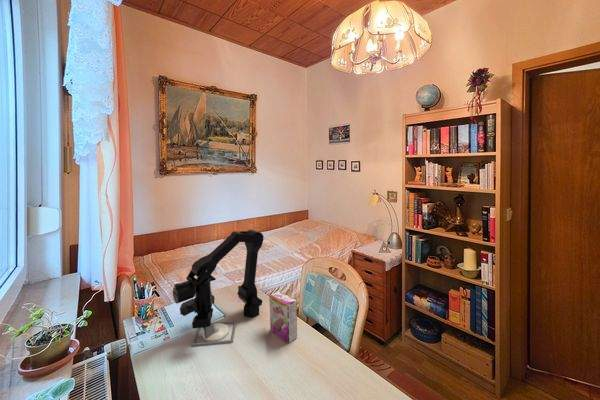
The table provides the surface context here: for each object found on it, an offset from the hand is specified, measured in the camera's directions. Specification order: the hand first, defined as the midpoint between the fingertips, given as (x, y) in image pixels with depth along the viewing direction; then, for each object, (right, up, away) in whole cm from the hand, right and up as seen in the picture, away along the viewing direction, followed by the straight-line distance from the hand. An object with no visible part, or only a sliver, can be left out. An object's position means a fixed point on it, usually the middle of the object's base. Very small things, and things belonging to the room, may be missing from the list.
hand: (205, 329), depth 105 cm
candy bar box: (+31, -3, +2) cm, 31 cm away
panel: (+4, -3, +1) cm, 5 cm away
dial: (+4, -2, +1) cm, 4 cm away
